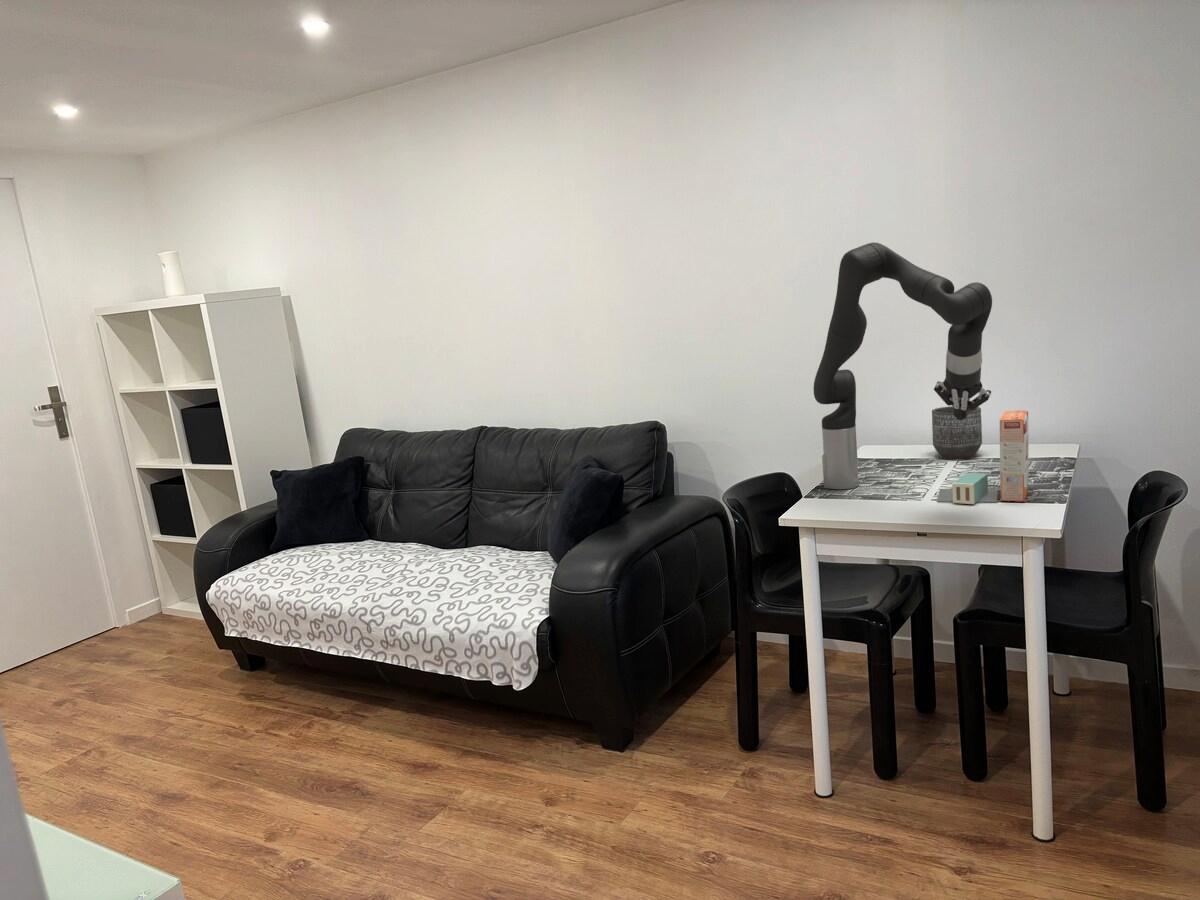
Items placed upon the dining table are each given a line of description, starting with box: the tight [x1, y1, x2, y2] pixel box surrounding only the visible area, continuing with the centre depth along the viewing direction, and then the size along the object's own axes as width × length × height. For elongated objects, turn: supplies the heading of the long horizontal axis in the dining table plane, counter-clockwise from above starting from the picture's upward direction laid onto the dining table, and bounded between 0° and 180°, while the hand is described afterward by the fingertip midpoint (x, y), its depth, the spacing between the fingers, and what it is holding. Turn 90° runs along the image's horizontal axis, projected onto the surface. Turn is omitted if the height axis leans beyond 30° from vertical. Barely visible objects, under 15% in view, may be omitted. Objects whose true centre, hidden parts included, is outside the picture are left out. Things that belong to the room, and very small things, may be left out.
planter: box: [931, 405, 983, 460], centre depth 270 cm, size 14×14×15 cm
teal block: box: [951, 472, 989, 505], centre depth 221 cm, size 5×5×12 cm
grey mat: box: [936, 488, 999, 504], centre depth 224 cm, size 14×13×1 cm
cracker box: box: [999, 410, 1029, 503], centre depth 219 cm, size 14×6×21 cm, turn 151°
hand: (961, 417), depth 210 cm, fingers closed
